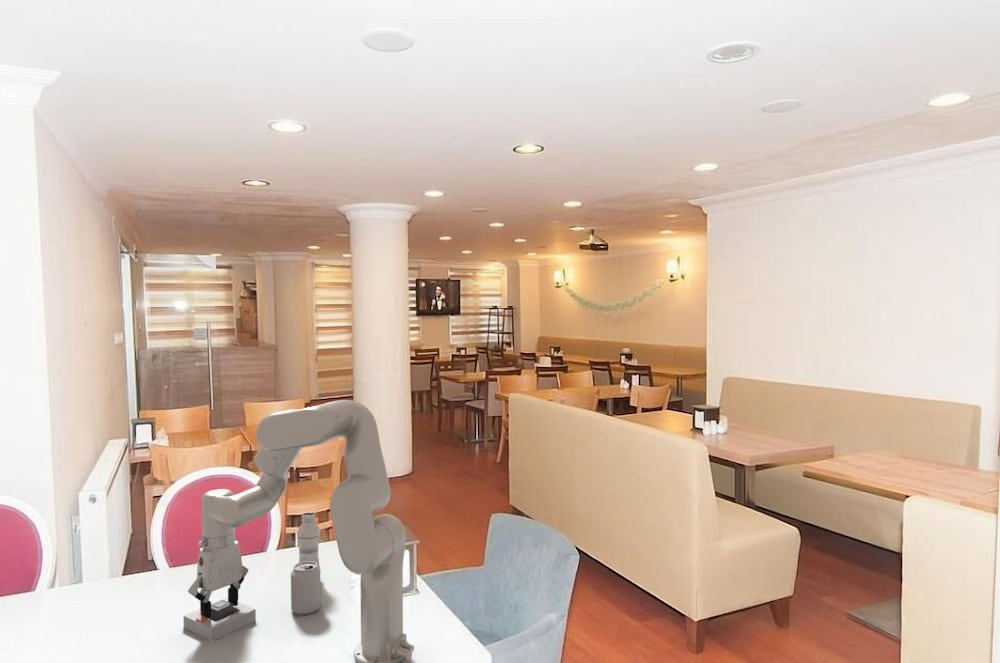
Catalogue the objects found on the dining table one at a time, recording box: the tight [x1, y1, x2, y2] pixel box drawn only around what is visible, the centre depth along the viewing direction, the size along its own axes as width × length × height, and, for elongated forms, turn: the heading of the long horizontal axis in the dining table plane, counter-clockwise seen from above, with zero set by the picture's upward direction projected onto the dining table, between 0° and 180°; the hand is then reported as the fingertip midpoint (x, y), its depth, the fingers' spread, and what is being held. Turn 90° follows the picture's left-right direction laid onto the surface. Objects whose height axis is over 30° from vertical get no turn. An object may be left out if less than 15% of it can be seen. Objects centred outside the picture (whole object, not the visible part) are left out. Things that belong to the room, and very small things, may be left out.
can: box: [290, 561, 322, 616], centre depth 168 cm, size 8×8×12 cm
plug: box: [208, 599, 233, 622], centre depth 160 cm, size 4×4×5 cm
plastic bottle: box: [296, 511, 322, 574], centre depth 185 cm, size 6×7×20 cm
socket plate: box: [183, 597, 257, 642], centre depth 161 cm, size 12×12×4 cm
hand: (219, 609), depth 160 cm, fingers open, 6 cm apart
